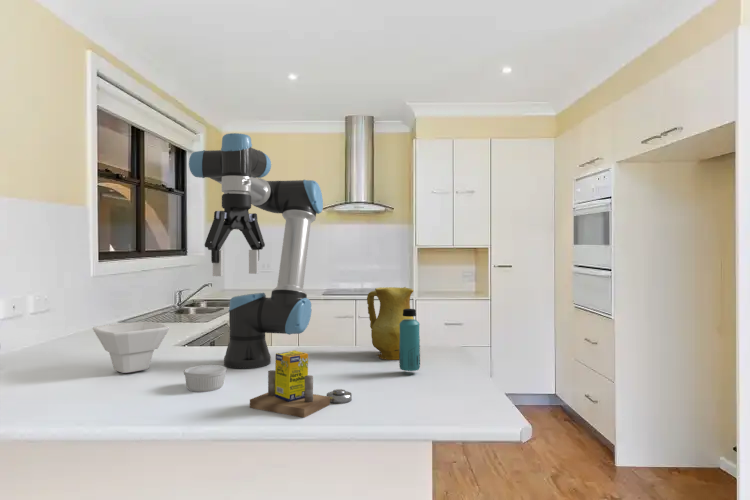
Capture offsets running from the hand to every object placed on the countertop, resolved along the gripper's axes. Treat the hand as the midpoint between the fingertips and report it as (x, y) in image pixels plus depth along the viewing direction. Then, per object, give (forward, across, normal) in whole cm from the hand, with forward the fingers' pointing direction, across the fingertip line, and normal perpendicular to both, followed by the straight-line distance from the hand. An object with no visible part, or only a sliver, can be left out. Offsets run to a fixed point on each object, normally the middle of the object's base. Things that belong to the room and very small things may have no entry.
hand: (236, 275), depth 138 cm
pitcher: (+32, +64, -16) cm, 73 cm away
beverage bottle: (+32, +43, -31) cm, 62 cm away
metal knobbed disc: (+32, +9, -26) cm, 42 cm away
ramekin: (+32, +2, +13) cm, 35 cm away
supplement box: (+30, 0, -18) cm, 35 cm away
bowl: (+32, +5, +47) cm, 57 cm away
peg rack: (+32, -1, -18) cm, 36 cm away
